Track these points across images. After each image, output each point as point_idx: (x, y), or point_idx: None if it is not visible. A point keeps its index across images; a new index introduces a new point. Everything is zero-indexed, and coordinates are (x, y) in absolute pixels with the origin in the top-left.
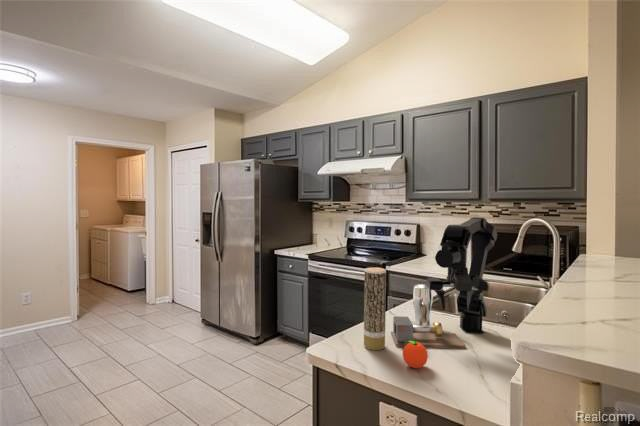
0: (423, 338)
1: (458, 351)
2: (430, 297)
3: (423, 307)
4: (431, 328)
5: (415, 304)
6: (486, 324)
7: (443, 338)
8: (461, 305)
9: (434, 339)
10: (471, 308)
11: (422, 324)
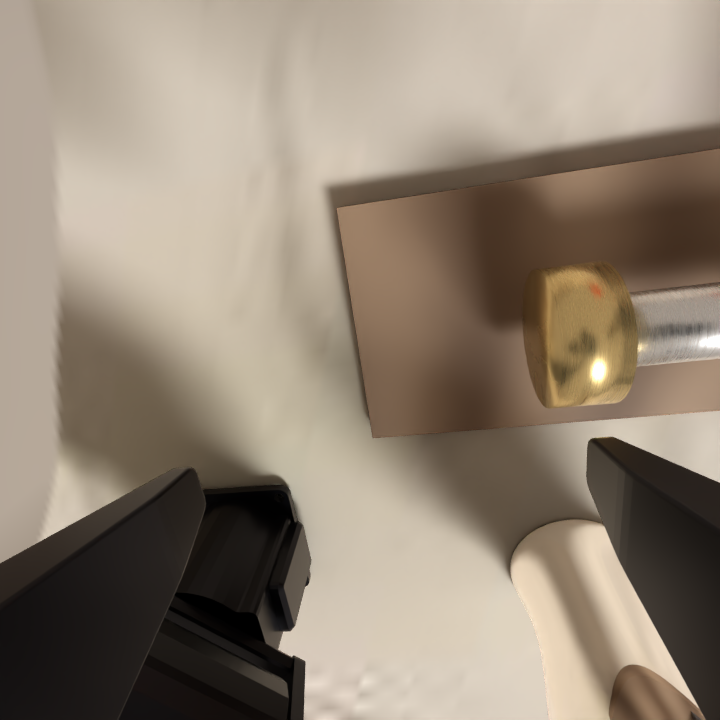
0: None
1: (408, 134)
2: None
3: (674, 683)
4: (658, 305)
5: None
6: None
7: (489, 322)
8: (263, 695)
9: None
10: (169, 637)
11: (596, 544)
